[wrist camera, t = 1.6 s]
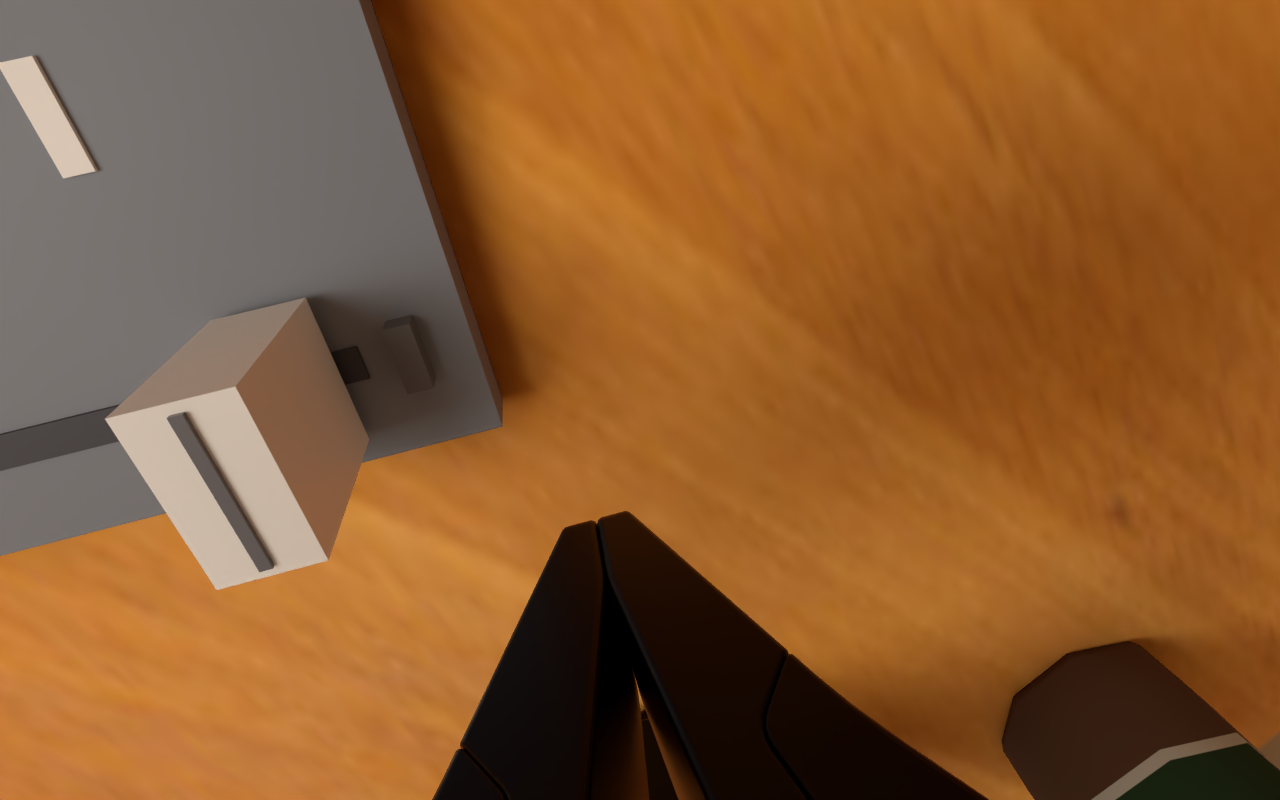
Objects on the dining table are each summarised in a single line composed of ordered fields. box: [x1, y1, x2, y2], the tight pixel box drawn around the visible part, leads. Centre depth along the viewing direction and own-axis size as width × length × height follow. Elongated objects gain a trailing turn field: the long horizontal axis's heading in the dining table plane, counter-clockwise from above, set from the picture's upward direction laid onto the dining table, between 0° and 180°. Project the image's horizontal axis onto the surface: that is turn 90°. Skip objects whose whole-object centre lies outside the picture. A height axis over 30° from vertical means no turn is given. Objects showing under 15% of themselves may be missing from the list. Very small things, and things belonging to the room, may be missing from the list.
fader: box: [105, 298, 369, 590], centre depth 14 cm, size 4×2×4 cm, turn 11°
